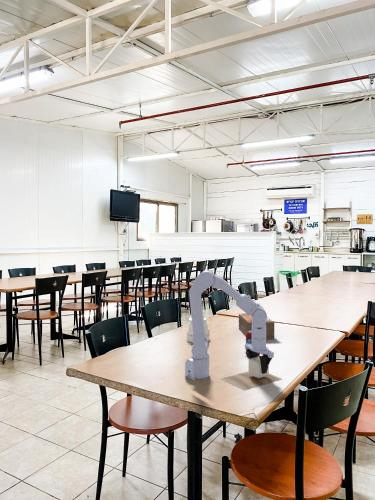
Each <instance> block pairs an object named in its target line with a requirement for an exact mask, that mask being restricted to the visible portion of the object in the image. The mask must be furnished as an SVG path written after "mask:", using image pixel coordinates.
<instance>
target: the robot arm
mask: <svg viewBox="0 0 375 500" xmlns="http://www.w3.org/2000/svg"><path fill="white" fill-rule="evenodd" d="M211 286H212V288H214V289H220V290H221V291H223V292H224V293H225V294H227V295H228V296H229V297H230V298H232V299H233V300H235V305H236V306H237V307H238V308H239V309H240V310H241V311H243V312H244V313H246V314H248V315H250V316H252V344H246V343H245V344H244V349H245V355H246V357H247V360H249V359H251V358H255V357H257V356H258V353H260V355H259V356H258V357H259V359H260V362H261V371H262V374H264V373H267V369H268V366H270V363H271V362H272V360H273V358H274V357H275V352H274V351H272V350H270V349H268V346H267V340H266V319H267V317H268V315H267V312H266V310H265V309H264V307H263V306H262V305H261V304H260V303H257V302H256V301H254V300H253V299H252V298H251V297H252V296H251V295H250V294H248V295H247V294H246V293H240V292H239V291H238V290H236V289H235V288H234V287H233V286H232V285H230V284H229V283H228V282H227V281H226V280H225V279H224V278H222V277H221V276H220V275H219V274H217V273H214V272H213V270H210V269H204V270H202V271H201V272H200V274H198V275H197V276H196V278H195V279H194V281H193V283H192V284H191V287H190V288H189V289H188V294H189V295H188V296H189V305H190V315H191V316H190V318H191V317H192V327H193V342H192V347H191V357H190V358H188V359H186V360H185V362H184V363H185V364H184V368H185V369H184V371H185V372H184V373H185V374H184V376H185V377H187V378H188V379H191V380H193V381H194V380H199V379H206V378H208V377H209V376H210V355H209V353H208V349H209V346H210V344H209V341H207V340H206V336H205V331H204V321H203V315H204V311H203V305H202V304H203V303H202V302H203V301H202V294H203V293H204V292H205V291H206V290H207V289H209V288H210V287H211ZM246 349H248V351H246Z"/></svg>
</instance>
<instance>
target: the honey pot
mask: <svg viewBox="0 0 375 500" xmlns="http://www.w3.org/2000/svg"><path fill="white" fill-rule="evenodd" d="M207 320H208V319H207V318H206V317H205V315H204V314H203V321H204V331H205V336H206V340H207V341H208V342H210V339H211V338H210V337H211V336H210V335H211V334H210V329H209V324H208V322H207ZM188 321H189V323H188V327H187V329H186V341H187V342H189V343H193V327H192V317H191V316H190V317H189V318H188Z"/></svg>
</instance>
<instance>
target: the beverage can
mask: <svg viewBox="0 0 375 500" xmlns="http://www.w3.org/2000/svg"><path fill="white" fill-rule="evenodd" d="M245 344H252V330H248V331H247V333H246V337H245ZM246 351H248V349H245V352H246ZM259 356H261V354H260V353H258V356H257V357H259Z"/></svg>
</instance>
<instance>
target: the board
mask: <svg viewBox="0 0 375 500" xmlns="http://www.w3.org/2000/svg"><path fill="white" fill-rule="evenodd" d="M220 380H222V381H224V382H225V383H228V384H230V385H232V386H234V387H236V388H237V389H241V390H242V391H247V390H251V389H253V388H258V387H261V386H264V385H267V384H271V383H274V382H278V381H282V378H281V377H279V376H276V375H274V374H271V373H269V375H267V376H264V377H261V378H257V377H255V376H252V375H250V374H249V370H248V371H244V372H241V373H238V374H234V375H230V376H226V377H223V378H220Z"/></svg>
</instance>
